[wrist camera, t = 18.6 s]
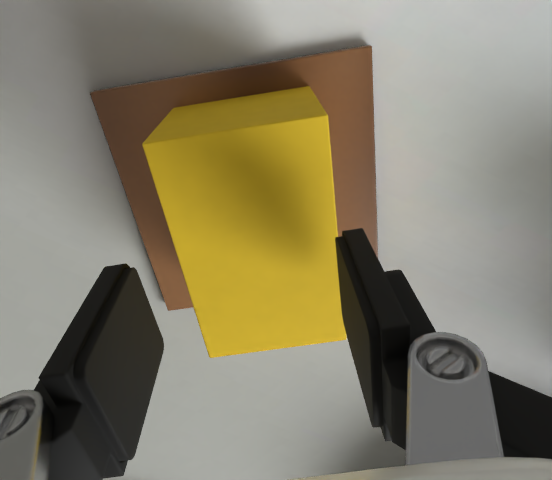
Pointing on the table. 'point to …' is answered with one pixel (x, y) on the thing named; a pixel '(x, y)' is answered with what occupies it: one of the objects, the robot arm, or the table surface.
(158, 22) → the table surface
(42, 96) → the table surface
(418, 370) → the robot arm
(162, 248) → the cork mat
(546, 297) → the table surface
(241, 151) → the sponge
